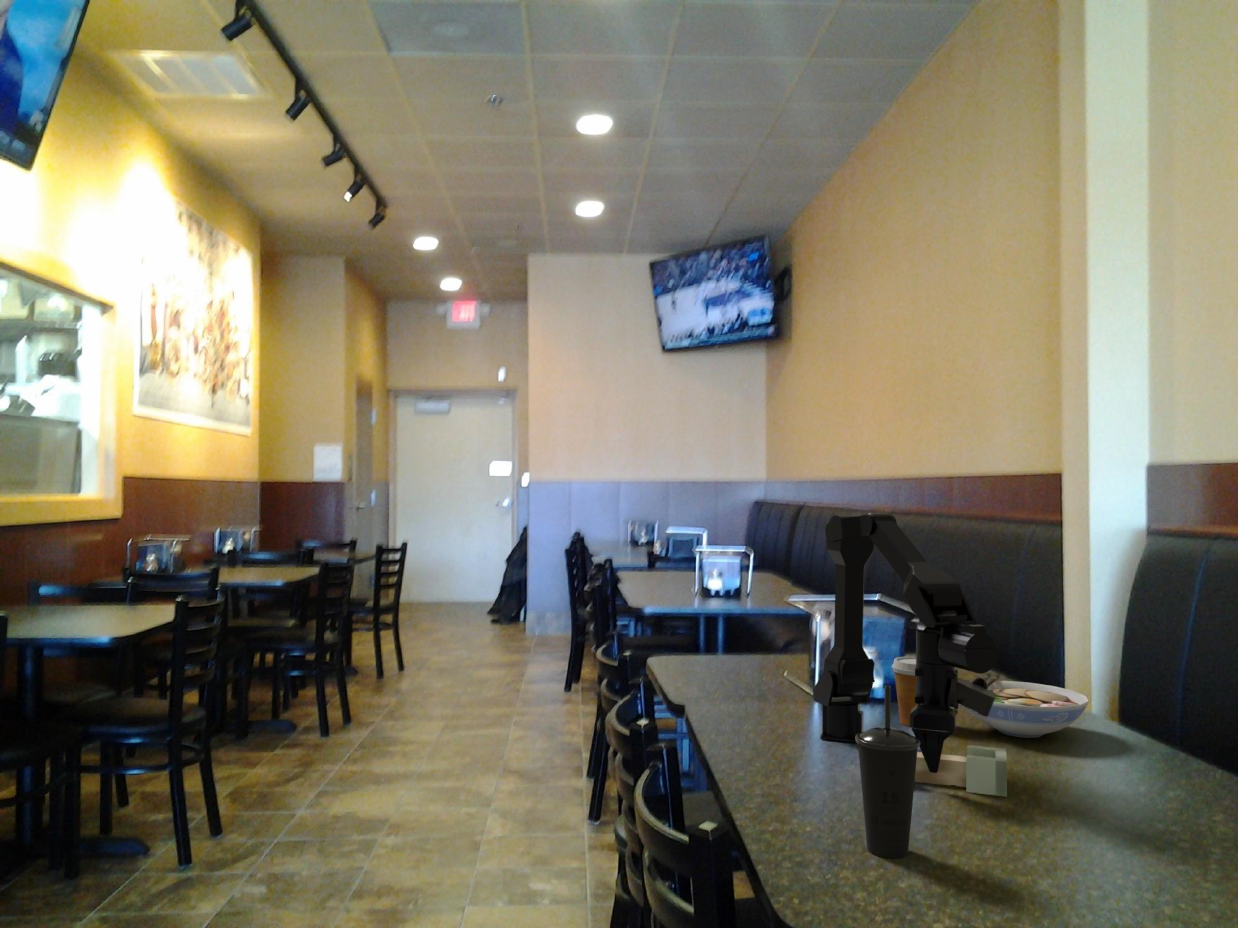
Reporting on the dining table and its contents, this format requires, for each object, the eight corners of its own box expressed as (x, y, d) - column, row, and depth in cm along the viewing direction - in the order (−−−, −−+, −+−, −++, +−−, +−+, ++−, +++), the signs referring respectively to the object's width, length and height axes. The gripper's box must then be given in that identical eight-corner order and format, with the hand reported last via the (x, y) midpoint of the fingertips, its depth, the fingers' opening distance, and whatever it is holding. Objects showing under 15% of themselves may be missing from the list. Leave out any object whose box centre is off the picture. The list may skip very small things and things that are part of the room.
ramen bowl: (1081, 758, 156) (1081, 709, 156) (940, 738, 168) (940, 692, 168) (1096, 727, 177) (1096, 684, 177) (969, 711, 189) (969, 670, 189)
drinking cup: (846, 839, 118) (847, 680, 119) (905, 838, 119) (905, 679, 119) (867, 863, 110) (868, 692, 111) (930, 862, 111) (930, 692, 112)
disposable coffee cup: (947, 731, 173) (947, 666, 173) (893, 728, 174) (893, 663, 175) (940, 719, 182) (940, 657, 182) (889, 716, 184) (889, 655, 184)
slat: (884, 780, 144) (884, 753, 144) (884, 774, 147) (884, 748, 147) (988, 790, 139) (988, 763, 139) (987, 785, 142) (987, 758, 142)
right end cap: (1005, 781, 143) (1005, 748, 143) (1006, 796, 136) (1006, 761, 136) (967, 777, 145) (967, 744, 145) (966, 791, 138) (966, 757, 138)
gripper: (992, 676, 132) (992, 788, 131) (992, 655, 149) (992, 754, 149) (909, 670, 136) (909, 778, 135) (918, 650, 153) (918, 746, 153)
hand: (935, 764), depth 143 cm, fingers open, 9 cm apart
